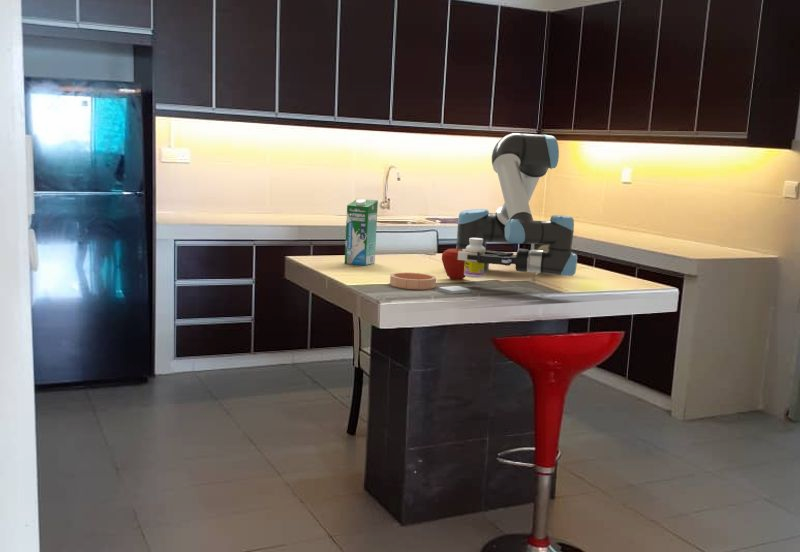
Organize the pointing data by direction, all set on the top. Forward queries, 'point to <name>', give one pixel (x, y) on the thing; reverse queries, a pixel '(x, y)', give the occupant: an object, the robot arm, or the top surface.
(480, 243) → the supplement bottle
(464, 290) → the light grey flat block
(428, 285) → the bowl
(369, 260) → the milk carton
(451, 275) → the apple
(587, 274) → the top surface
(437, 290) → the mat
